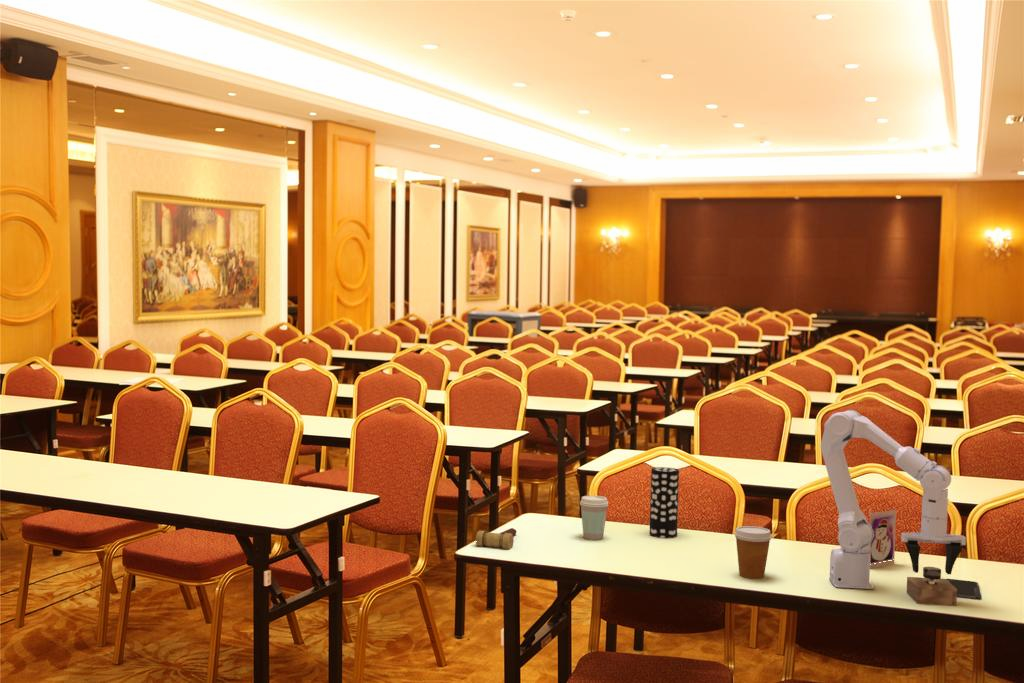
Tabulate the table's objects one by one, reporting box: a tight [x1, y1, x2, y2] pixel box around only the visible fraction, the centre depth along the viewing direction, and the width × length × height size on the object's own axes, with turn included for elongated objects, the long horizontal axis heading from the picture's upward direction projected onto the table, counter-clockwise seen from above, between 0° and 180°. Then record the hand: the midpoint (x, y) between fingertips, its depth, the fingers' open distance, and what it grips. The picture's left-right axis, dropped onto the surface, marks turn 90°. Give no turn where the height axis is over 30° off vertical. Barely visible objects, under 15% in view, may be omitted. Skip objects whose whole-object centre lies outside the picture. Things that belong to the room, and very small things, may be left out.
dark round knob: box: [922, 566, 942, 584], centre depth 245 cm, size 4×4×7 cm
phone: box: [945, 578, 982, 601], centre depth 254 cm, size 8×1×15 cm
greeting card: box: [868, 509, 897, 569], centre depth 278 cm, size 11×7×15 cm, turn 123°
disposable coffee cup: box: [733, 525, 773, 579], centre depth 263 cm, size 10×10×12 cm
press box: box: [906, 576, 958, 606], centre depth 245 cm, size 9×9×4 cm
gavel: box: [475, 527, 517, 550], centre depth 295 cm, size 21×5×10 cm
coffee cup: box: [579, 494, 609, 541], centre depth 301 cm, size 8×8×12 cm
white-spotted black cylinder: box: [649, 466, 680, 539], centre depth 307 cm, size 8×8×20 cm
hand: (931, 572), depth 245 cm, fingers open, 7 cm apart
